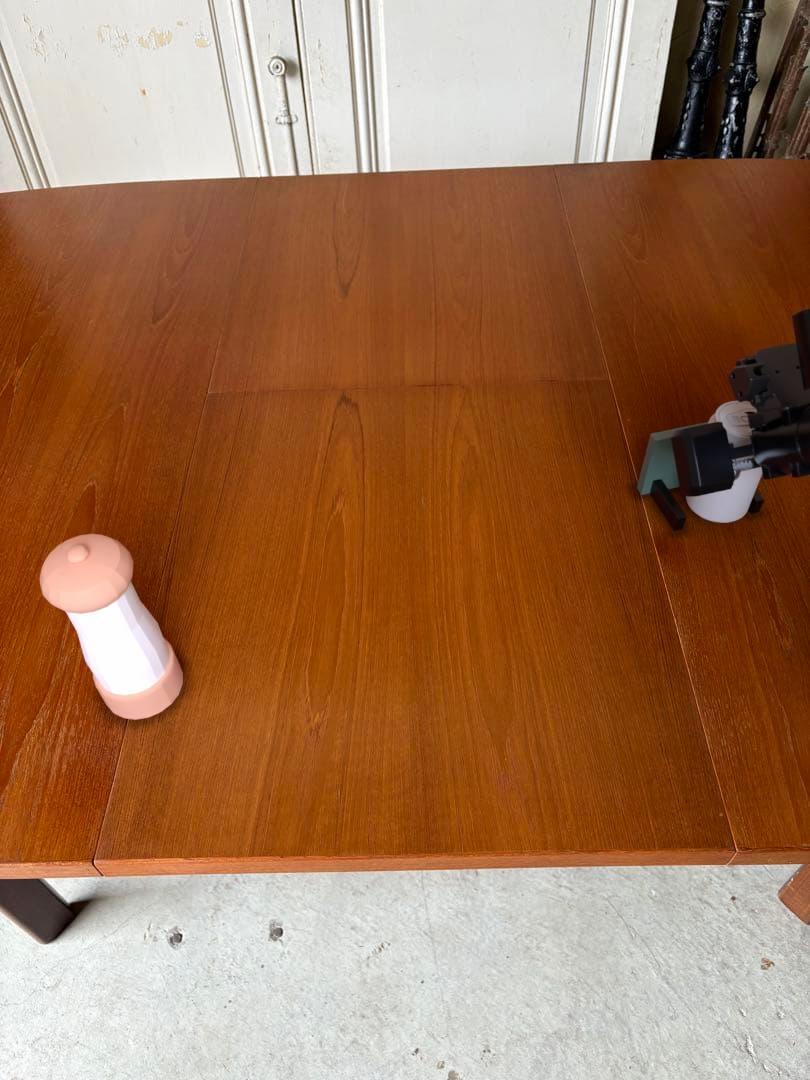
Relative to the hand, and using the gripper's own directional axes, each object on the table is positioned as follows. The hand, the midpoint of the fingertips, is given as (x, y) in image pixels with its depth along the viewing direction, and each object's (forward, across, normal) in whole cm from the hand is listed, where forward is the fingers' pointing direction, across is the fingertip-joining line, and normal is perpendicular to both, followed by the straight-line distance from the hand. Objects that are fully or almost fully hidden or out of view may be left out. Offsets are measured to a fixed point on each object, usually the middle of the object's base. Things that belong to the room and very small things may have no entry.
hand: (724, 451), depth 83 cm
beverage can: (+4, 0, +6) cm, 7 cm away
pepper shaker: (+1, +61, +10) cm, 62 cm away
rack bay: (+6, 0, +5) cm, 8 cm away
